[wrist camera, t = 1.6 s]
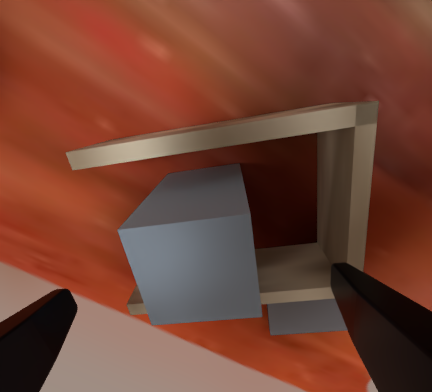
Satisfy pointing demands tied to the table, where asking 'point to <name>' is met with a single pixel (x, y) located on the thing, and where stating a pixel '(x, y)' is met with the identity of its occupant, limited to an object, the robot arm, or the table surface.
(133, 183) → the table surface
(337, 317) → the felt coaster
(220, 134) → the u-shaped bracket
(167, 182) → the slate block
